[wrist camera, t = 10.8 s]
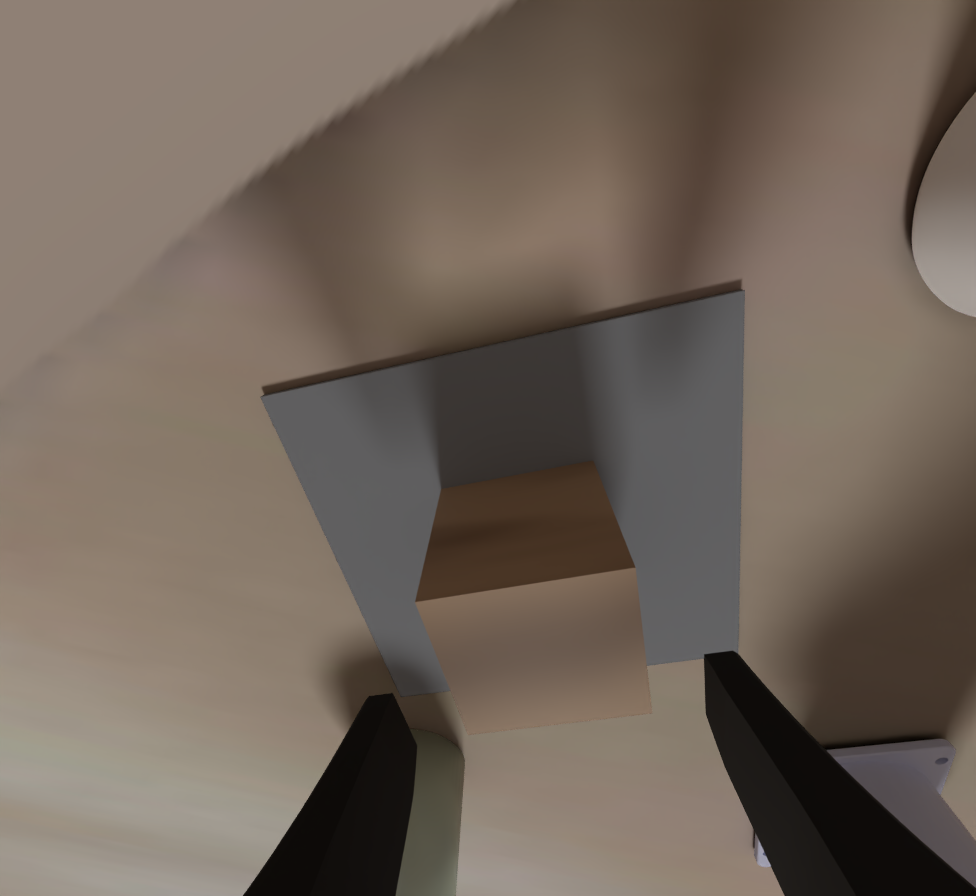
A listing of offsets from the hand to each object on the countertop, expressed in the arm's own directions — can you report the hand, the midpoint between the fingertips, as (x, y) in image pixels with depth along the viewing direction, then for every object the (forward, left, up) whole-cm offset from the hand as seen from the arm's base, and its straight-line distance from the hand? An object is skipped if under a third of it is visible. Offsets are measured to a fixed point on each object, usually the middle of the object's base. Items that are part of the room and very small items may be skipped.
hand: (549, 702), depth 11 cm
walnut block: (0, 0, -6) cm, 6 cm away
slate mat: (0, 0, -6) cm, 6 cm away
